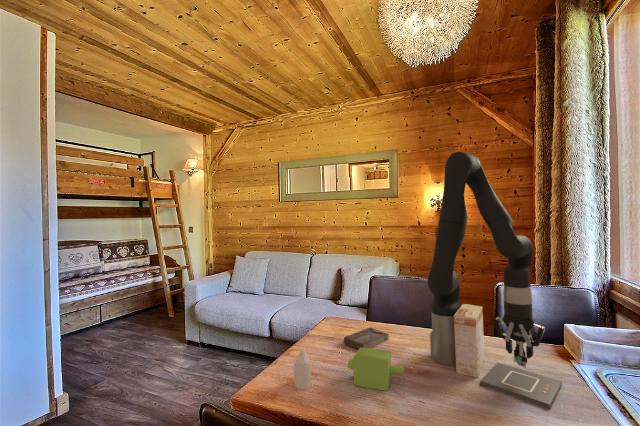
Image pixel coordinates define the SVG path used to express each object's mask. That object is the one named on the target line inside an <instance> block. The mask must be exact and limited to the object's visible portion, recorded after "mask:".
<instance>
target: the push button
mask: <svg viewBox="0 0 640 426" xmlns="http://www.w3.org/2000/svg"><path fill="white" fill-rule="evenodd" d="M511 340H512V341H513V342H515V346H514V347H515V348H514V349H513V362H514V363H516V364H517V365H518V366H519V367H523V368H525V369H526V368H527V366H526V365H527V364H528V358H527V355H526V350H525V348H524V344H526V341H525V339H524V337H523V335H522V334H519V333H518V332H517V333H513V334H511Z"/></svg>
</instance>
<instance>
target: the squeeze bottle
mask: <svg viewBox="0 0 640 426" xmlns="http://www.w3.org/2000/svg"><path fill="white" fill-rule="evenodd" d="M311 364H312V362H311V360H310V357H309V356H308V355H307V352H306V349H305V348H304V347H303V348H302V349H301V350H300V351H299V353H298V355H297V357H296V359H295V360H294V363H293V378H294V381H293V382H294V383H293V384H294V387H295V388H296V389H297V390H302V391H303V390H307V389H309V388H310V387H311V385H312V365H311Z"/></svg>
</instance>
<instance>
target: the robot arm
mask: <svg viewBox="0 0 640 426" xmlns="http://www.w3.org/2000/svg"><path fill="white" fill-rule="evenodd" d="M443 176H444V179H443V192H442V193H443V195H442V200H441V206H440V212H439V218H438V223H437V230H436V238H435V243H434V244H435V245H434V246H435V247H434V254H433V258H432V262H431V263H432V264H431V266H430V270H429V272H428V277H427V286H428V289H429V291H430V292H431V293H432V294H433V300H432V301H431V306H430V309H431V310H430V311H431V331H430V332H429V342H430V358H431V359H432V360H434V361H435V362H437V363H439V364H441V365H447V366H453V365H455V366H456V351H455V329H454V315H455V313H456V312H457V311H458V310H459V308H460V307H459V306H460V301H461V300H460V299H461V298H460V297H461V296H460V292H461V291H460V290H461V289H460V288H461V287H460V286H461V285H460V278H459V276H458V274H457V272H456V271H455V270H454V268H455V262H456V258H457V256H458V253H459V251H460V249H461V246H462V244H463V241H464V239H465V235H466V230H467V223H468V211H467V205H466V201H465V190H466V185H467V187H469V189H470V190H471V192H472V194H473V196H474V199H475V201H476V202H475V203H476V205H477V209H478V212H479V213H480V215H481V217H482V219H483V221H484V222H485V224H486V225H487V228H489V230H490V232H491V237H492V239H493V241H494V242H493V243H494V244H495V246H496V249H497V251H498V252H499V254H501V256H503V258H505V259H507V265H506V266H505V267H504V268H503V272H502V273H503V288H502V289H503V291H502V294H503V295H502V297H503V298H502V299H503V300H502V301H503V316H502V317H499V316H496V317H495V318H494V319H493V323H494V326H495V331H496V332H497V335H498V338H500V339H503V340H504V341H505V350H506V352H507V353H508V354H510V355H511V354H512V353H513V352H514V349H513V339H511V334H513V333H517V332H518V333H519V334H522V335H523V337H524V339H525V341H526V342H525V344H526V346H525V349H526V350H525V352H526V358H527V360H528V359H529V360H530V359H531V358H532V357H533V356H534V347H536V348H537V347H539V346H540V344H541V343H542V341H543V338H544V337H543V336H544V334H545V331H546V326H544V325H540V324H539V325H538V324H536V323H535V320H534V318H533V317H534V316H533V296H532V288H531V275H530V274H531V266H532V261H533V254H534V249H533V244H532V242H531V240H530V238H528V237H526V236H524V235H522V234H521V235H520V234H516V233H515V231H514V229H513V226H514V221H513V219H512V217H511V215H510V214H509V212H508V211H507V209H506V208H505V206H504V205H503V203H502V202H501V200H500V199H499V197H498V196H497V194H496V193H495V191H494V189H493V187H492V186H491V184H490V182H489V180H488V178H487V175H486V173H485V171H484V168H483V166H482V164H481V162H480V160H479V158H478V157H477V156H476V155H474V154H471V153H469V152H468V153H467V152H463V151H456V152H453V153H451V154H450V155H449V157H448V158H447V159H446V162H445V166H444V175H443ZM503 324H505V326H506V327H507V330H506V333H505V330H504V326H503ZM533 328H534V332H535V333H536V335H535V339H534V340H533V337H532V334H531V330H532V329H533Z"/></svg>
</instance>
